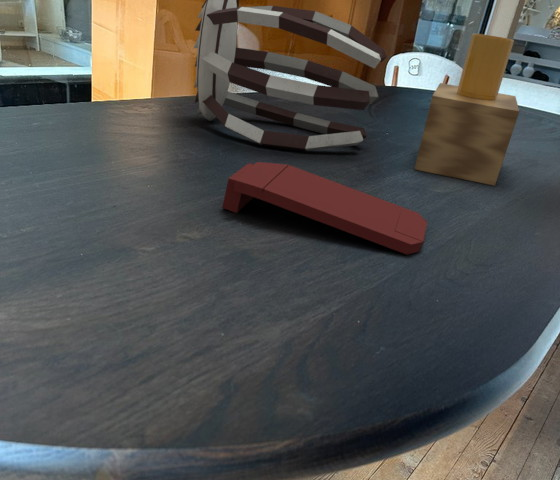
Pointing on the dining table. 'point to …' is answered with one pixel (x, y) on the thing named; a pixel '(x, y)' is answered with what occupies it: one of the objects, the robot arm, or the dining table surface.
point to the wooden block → (466, 135)
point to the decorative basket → (234, 69)
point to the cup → (484, 66)
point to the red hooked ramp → (327, 204)
